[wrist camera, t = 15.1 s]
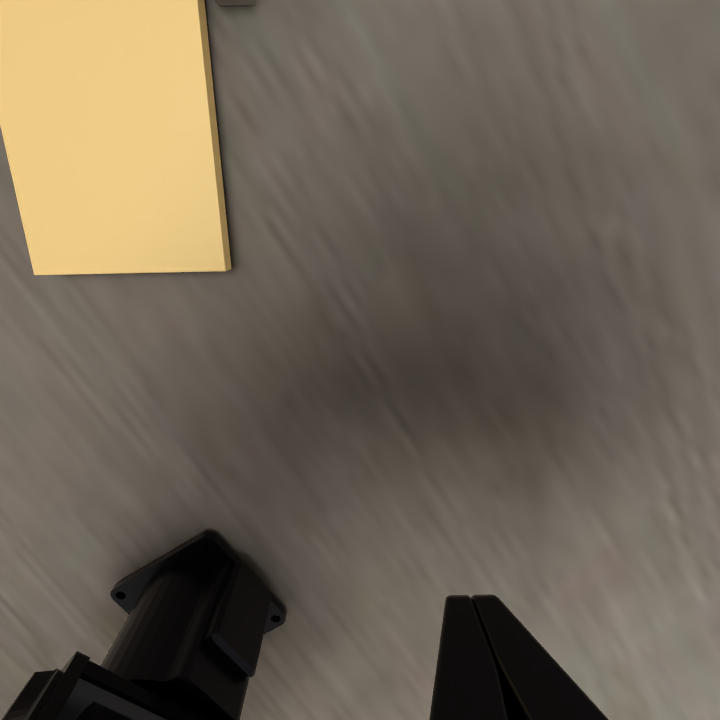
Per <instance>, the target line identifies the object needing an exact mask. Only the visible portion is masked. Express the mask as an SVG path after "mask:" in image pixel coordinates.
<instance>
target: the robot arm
mask: <svg viewBox="0 0 720 720" xmlns="http://www.w3.org/2000/svg"><path fill="white" fill-rule="evenodd" d="M206 542H210V543H211V544H207V543H206ZM111 597H112V599H113V600H114V601H115V602H116V603H117V604H118V605H119V606H121V607H122V608H123V609H124V610H125V611H126V612H127V613H128V614H129V617H128V618H127V620H126V622H125V624H124V625H123V627H122V629H121V631H120V633H119V634H118V636H117V638H116V640H115V641H114V643H113V645H112V647H111V649H110V650H109V652H108V654H107V656H106V657H105V659H104V661H103V663H102V665H101V666H99V665H97V664H95V663H93V662H91V661H89V659H90V657H88V656H86V655H84V654H82V653H80V652H78V651H77V652H76V653H75V654H74V655H73V657H72V658H71V659H70V660H69V662H68V663H67V664H66V665H65V667H64V668H63V669H62V670H61V671H60V670H58V669H55V670H54V671H44V672H35V673H34V675H33V676H32V677H31V678H30V680H29V681H28V682H27V684H26V685H25V687H24V688H23V689H22V691H21V692H20V694H19V695H18V697H17V698H16V700H15V701H14V702H13V704H12V705H11V707H10V708H9V710H8V711H7V712H6V714H5V715H4V717H3V718H2V720H240V716H241V712H242V707H243V703H244V698H245V694H246V690H247V685H248V681H249V678H251V677H253V676H254V674H255V670H256V666H257V661H258V657H259V652H260V648H261V643H262V639H263V634H265V633H267V632H269V631H271V630H273V629H275V628H276V627H278V626H280V625H282V624H283V623H284V622H285V620H286V614H287V612H286V609H285V608H284V606H283V605H282V604H281V603H280V602H279V601H278V600H277V599H276V598H275V597H274V596H273V595H272V593H271V592H270V591H269V590H268V589H267V588H266V587H265V586H264V585H263V584H262V583H261V582H260V581H259V579H258V578H257V577H256V576H255V575H254V574H253V573H252V572H251V571H250V570H249V569H248V568H247V567H246V565H245V564H244V563H243V562H242V561H241V560H240V559H239V558H238V557H237V556H236V555H235V554H234V553H233V551H232V550H231V549H230V548H229V547H228V546H227V545H226V544H225V543H224V542H223V541H222V540H221V539H220V537H219V536H218V535H216V534H215V533H213V532H204V533H202V534H200V535H198V536H197V537H195V538H193V539H192V540H190V541H188V542H186V543H185V544H183V545H181V546H180V547H178V548H176V549H174V550H173V551H171V552H169V553H168V554H166V555H164V556H162V557H161V558H159V559H157V560H156V561H154V562H152V563H150V564H149V565H147V566H145V567H144V568H142V569H140V570H138V571H137V572H135V573H133V574H132V575H130V576H128V577H126V578H125V579H123V580H121V581H120V582H118V583H117V584H116V585H115V586H114V588H113V589H112V591H111ZM276 615H278V616H276ZM429 720H608V718H607V717H606V716H605V715H604V714H603V713H602V712H601V711H600V710H599V709H598V707H597V706H596V705H595V704H594V703H593V702H592V701H591V700H590V699H589V697H588V696H587V695H586V694H585V693H584V692H583V691H582V690H581V689H580V688H579V686H578V685H577V684H576V683H575V682H574V681H573V680H572V679H571V678H570V677H569V675H568V674H567V673H566V672H565V671H564V670H563V669H562V668H561V667H560V665H559V664H558V663H557V662H556V661H555V660H554V659H553V658H552V657H551V656H550V654H549V653H548V652H547V651H546V650H545V649H544V648H543V647H542V646H541V644H540V643H539V642H538V641H537V640H536V639H535V638H534V637H533V636H532V635H531V633H530V632H529V631H528V630H527V629H526V628H525V627H524V626H523V625H522V623H521V622H520V621H519V620H518V619H517V618H516V617H515V616H514V615H513V614H512V612H511V611H510V610H509V609H508V608H507V607H506V606H505V605H504V604H503V603H502V601H501V600H500V599H499V598H498V597H496V596H495V595H474V596H472V597H471V598H470V597H469V596H468V595H451V596H448V597H447V598H446V601H445V608H444V616H443V623H442V631H441V638H440V645H439V653H438V660H437V668H436V675H435V682H434V690H433V697H432V705H431V712H430V719H429Z"/></svg>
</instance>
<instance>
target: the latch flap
mask: <svg viewBox="0 0 720 720" xmlns="http://www.w3.org/2000/svg"><path fill="white" fill-rule="evenodd" d="M0 125H1V130H2V134H3V139H4V143H5V147H6V152H7V156H8V161H9V165H10V170H11V174H12V178H13V183H14V187H15V192H16V196H17V201H18V205H19V209H20V214H21V218H22V223H23V227H24V232H25V236H26V241H27V245H28V249H29V254H30V258H31V263H32V267H33V272H34V275H61V274H109V273H157V272H205V271H227V270H231V260H230V250H229V240H228V230H227V220H226V210H225V200H224V190H223V180H222V170H221V160H220V150H219V140H218V130H217V120H216V111H215V101H214V91H213V81H212V71H211V61H210V51H209V41H208V31H207V21H206V11H205V1H204V0H0Z"/></svg>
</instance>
